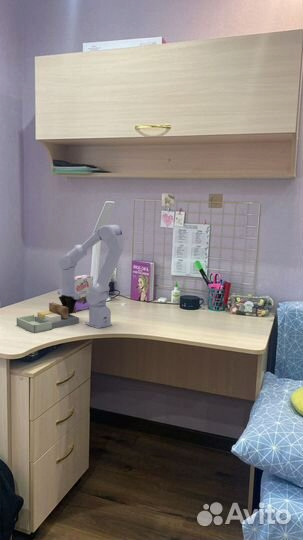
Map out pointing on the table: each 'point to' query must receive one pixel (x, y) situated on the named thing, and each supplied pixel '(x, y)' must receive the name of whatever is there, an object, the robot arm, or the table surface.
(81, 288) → the candy box
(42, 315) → the tile mustard
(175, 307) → the table surface
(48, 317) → the tile ivory
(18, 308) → the table surface
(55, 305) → the scraper
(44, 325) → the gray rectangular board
